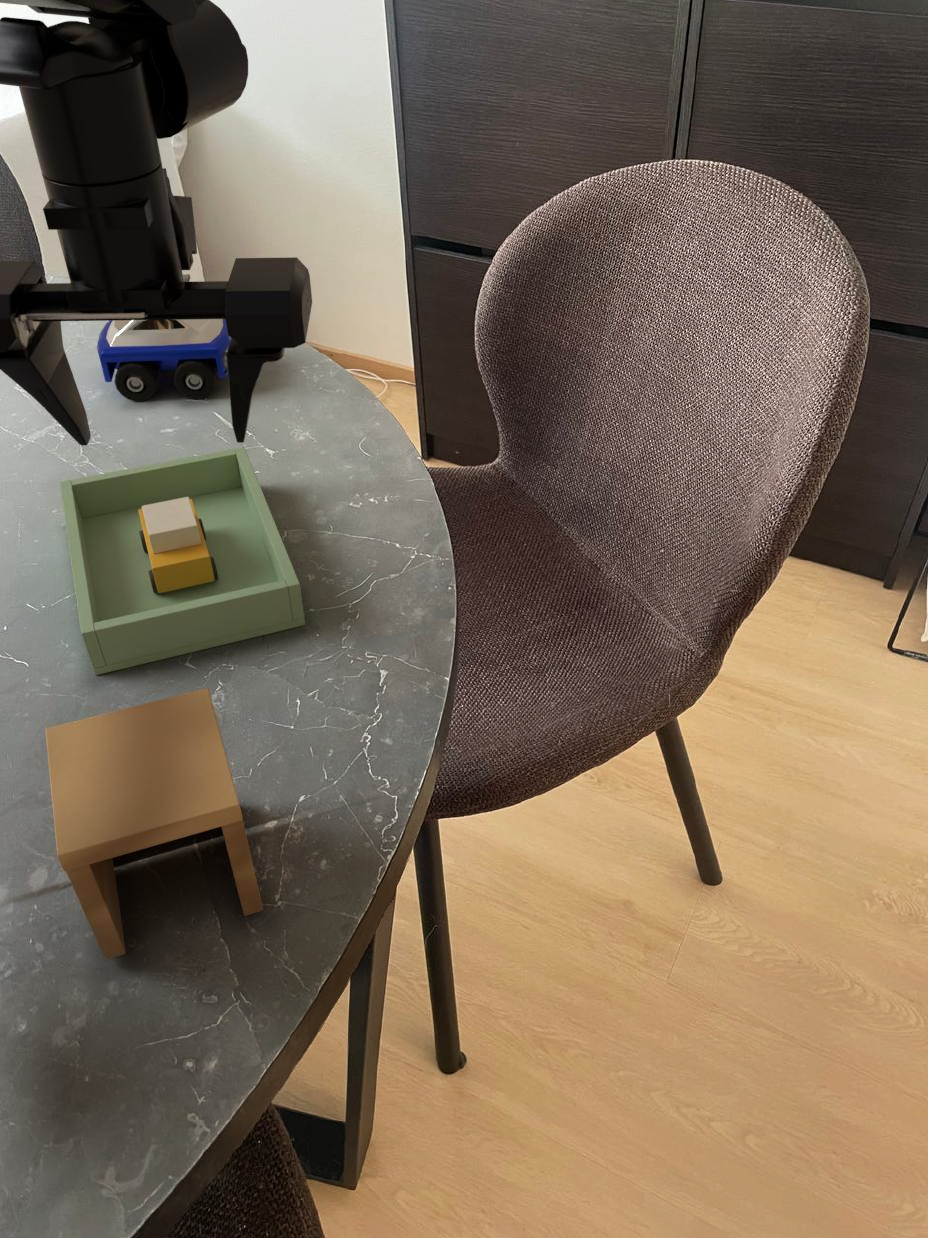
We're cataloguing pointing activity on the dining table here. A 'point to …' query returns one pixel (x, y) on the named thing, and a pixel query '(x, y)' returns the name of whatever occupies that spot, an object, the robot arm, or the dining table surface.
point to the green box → (118, 566)
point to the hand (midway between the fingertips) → (164, 440)
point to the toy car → (164, 354)
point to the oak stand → (141, 798)
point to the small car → (175, 545)
